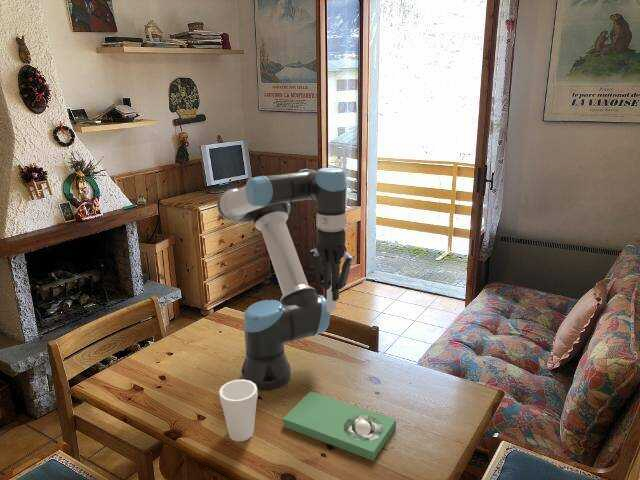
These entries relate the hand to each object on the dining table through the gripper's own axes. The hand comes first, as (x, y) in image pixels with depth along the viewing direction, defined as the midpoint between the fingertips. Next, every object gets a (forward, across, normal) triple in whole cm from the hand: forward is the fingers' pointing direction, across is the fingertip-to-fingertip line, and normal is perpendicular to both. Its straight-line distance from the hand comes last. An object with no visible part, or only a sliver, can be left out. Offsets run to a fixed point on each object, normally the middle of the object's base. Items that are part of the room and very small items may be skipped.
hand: (331, 310), depth 143 cm
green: (+26, +9, -12) cm, 31 cm away
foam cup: (+27, -12, -27) cm, 40 cm away
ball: (+24, +16, -12) cm, 31 cm away
